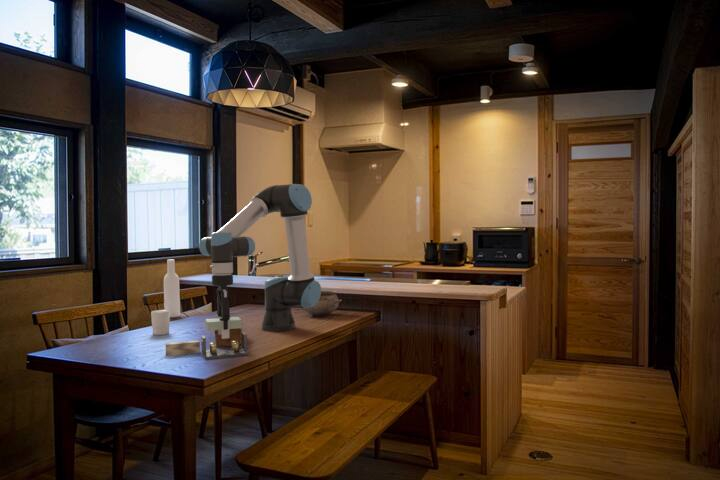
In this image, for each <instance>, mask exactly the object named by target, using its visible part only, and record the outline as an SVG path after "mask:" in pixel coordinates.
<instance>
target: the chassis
mask: <svg viewBox="0 0 720 480" xmlns="http://www.w3.org/2000/svg"><path fill="white" fill-rule="evenodd" d="M200 337H201V339H200V341H201V342H200V347H201V354H202V356H203V358H204V360H205V361H206V360H207V361H208V360H214V359H215V360H217V359H224V358H237V357H245V356H249V353H248V336H247V333H245V331H242V332H241V345H239V343H237V341H232V346H229V347H222V348H221V347H219V348H217V347H218V346H217V345H216V342H209V349H207V338H206V337H205V334H204V335H201V336H200Z"/></svg>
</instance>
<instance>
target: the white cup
mask: <svg viewBox="0 0 720 480" xmlns="http://www.w3.org/2000/svg"><path fill="white" fill-rule="evenodd" d="M150 318H151V327H152V334H153V335H154V336H162V335H168V334H169V333H170V324H171V323H170V322H171V319H170V310H164V309H158V310H157V309H156V310H152V311H151V312H150Z"/></svg>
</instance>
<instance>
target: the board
mask: <svg viewBox="0 0 720 480" xmlns="http://www.w3.org/2000/svg"><path fill="white" fill-rule="evenodd" d="M204 319H205V318H204ZM220 319H222V318H218V317H217V318H216V317H215V318H206V319H205V320H204V321H205V322H204V323H205V328H206V330H207V331H215V330H221V321H220ZM241 319H242V318H240V317H239V316H230V319H229V329H236V328H242V329H243V320H241Z"/></svg>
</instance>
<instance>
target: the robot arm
mask: <svg viewBox="0 0 720 480" xmlns="http://www.w3.org/2000/svg"><path fill="white" fill-rule="evenodd" d="M312 202H313V201H312V195H311V192H310V191H309V189H308V188H307V187H306V185H304V184H300V183H299V184H298V183H290V184H280V185H279V184H277V185H276V184H275V185H271V186H268V187H266V188H264V189H262V190H261V191H259V192H258V193H257V194H255V195H254V196H253V197H251V198H250V199H249V202H248V204H247V205H245V207H244V208H242V210H241V211H239V212H238V213H237V214H235V216H234V217H232V218H231V219H230V220H229V221H228V222H227V223H226V224H224V225H223V226H222V227H221V228H220V229H219V230H217V231H216V232H215V231H214V232H212V233H211V234H210V236H206V237H203V238H201V240H199V241H200V242H199V244H198V249H199V252H200V253H201V255H203V256H205V257H206V256H207V257H211V265H209V268H210V269H211V274H212V275H211V285H212V286H215V287H216V286H217V287H218V288H216V297H217V298H216V308H217V309H216V314H217V318H222V319H220V321H221V330H218V335H222V339H226V338H229V319H230V317H231V316H230V315H231V314H230V311H231V310H230V291H229V289H228V287H227V286H232V285H233V284H234V275H233V273H234V262H233V258H237V257H238V258H239V257H243V258H244V257H247V256H251V255H253V254H254V252H255V250H256V242H255V241H254V239H253V238H252V237H250V236H242V235H243V234H244V233H245V232H247V231H248V230H249V229H250V228H251V227H252V226H253V225H254V224H255V223H256V222H258V221H259V220H260V219H261V218H265V217H266V216H268V215H269V214H273V213H279V214H280V218H281V219H282V220H283V221H284V226H285V235H286V245H287V254H288V260H289V261H288V262H289V272H290V275H289V276H283V277H282V276H281V277H275V278H269V279H265V281H264V289H263V290H264V291H263V292H264V314H263V317H262V321H261V330H262V331H267V332H283V331H285V332H286V331H291V330H294V329H296V322H295V319H294V316H293V313H292V307H298V308H299V307H300V308H303V307H304V308H305V307H313V306H315V305H316V304H317V302H318V300H319V298H320V295H321V290H322V287H321V284H320V282H319V281H317V280H315V275H314V273H312V272H311V266H310V259H309V258H310V257H309V248H308V240H307V229H306V221H305V220H306V219H305V218H307V215H308V211H309V210H310V209H311V207H312ZM304 308H303V309H304Z"/></svg>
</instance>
